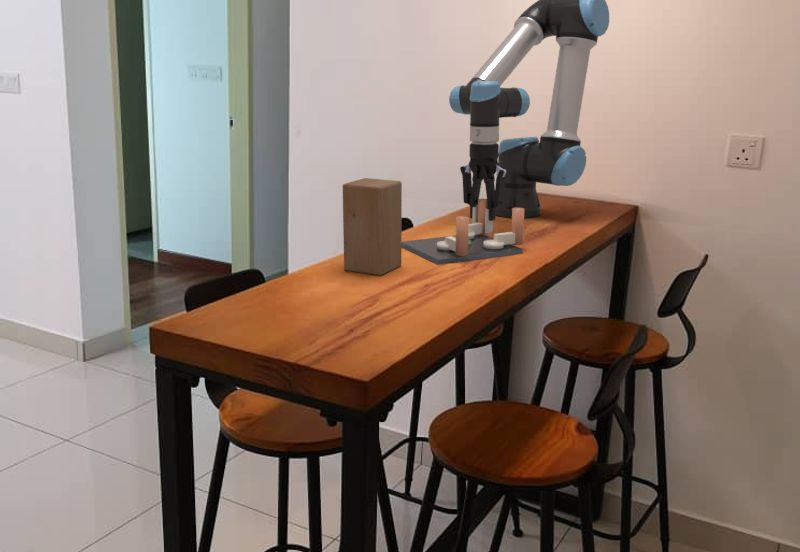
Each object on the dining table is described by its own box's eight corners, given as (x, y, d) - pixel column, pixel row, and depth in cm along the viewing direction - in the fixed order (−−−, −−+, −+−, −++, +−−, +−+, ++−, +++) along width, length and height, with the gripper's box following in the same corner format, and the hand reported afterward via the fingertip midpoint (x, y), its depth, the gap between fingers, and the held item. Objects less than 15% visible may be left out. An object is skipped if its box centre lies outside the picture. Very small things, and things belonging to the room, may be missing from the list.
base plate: (479, 236, 215) (479, 228, 214) (522, 253, 198) (522, 244, 197) (399, 246, 205) (399, 237, 204) (438, 264, 188) (438, 255, 187)
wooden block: (343, 270, 182) (341, 183, 177) (365, 260, 191) (364, 177, 185) (381, 276, 178) (381, 187, 172) (402, 265, 187) (402, 180, 181)
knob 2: (465, 240, 205) (466, 205, 202) (451, 236, 208) (452, 203, 206) (493, 233, 212) (494, 200, 209) (479, 230, 216) (480, 197, 213)
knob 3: (490, 249, 195) (491, 213, 193) (479, 245, 199) (480, 210, 197) (527, 245, 200) (529, 209, 197) (516, 241, 204) (517, 206, 202)
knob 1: (433, 246, 198) (433, 211, 196) (450, 244, 200) (451, 209, 198) (455, 256, 189) (456, 219, 186) (473, 254, 191) (474, 217, 188)
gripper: (449, 142, 208) (449, 230, 215) (503, 145, 199) (501, 237, 205) (465, 139, 214) (464, 225, 220) (519, 143, 204) (516, 232, 210)
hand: (482, 231), depth 213 cm, fingers open, 3 cm apart
